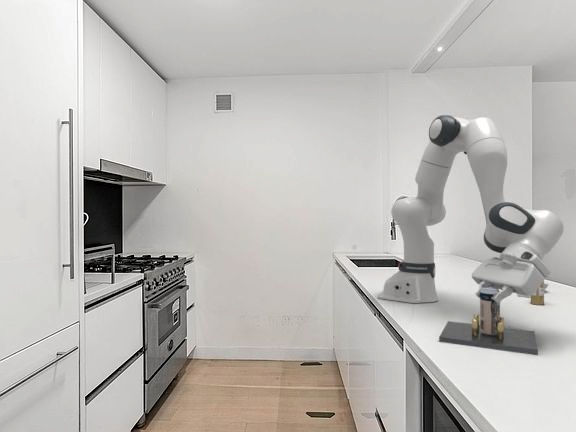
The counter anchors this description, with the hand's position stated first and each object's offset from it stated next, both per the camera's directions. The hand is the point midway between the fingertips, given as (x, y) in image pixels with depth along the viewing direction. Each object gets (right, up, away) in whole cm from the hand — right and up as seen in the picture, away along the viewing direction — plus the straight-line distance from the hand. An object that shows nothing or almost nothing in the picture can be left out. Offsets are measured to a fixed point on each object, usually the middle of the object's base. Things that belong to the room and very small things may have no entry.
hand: (486, 298), depth 112 cm
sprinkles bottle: (+39, -11, +44) cm, 59 cm away
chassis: (+1, -11, 0) cm, 11 cm away
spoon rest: (+48, -11, +65) cm, 82 cm away
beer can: (+1, -10, 0) cm, 10 cm away
